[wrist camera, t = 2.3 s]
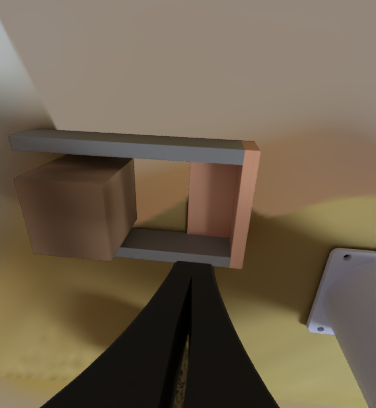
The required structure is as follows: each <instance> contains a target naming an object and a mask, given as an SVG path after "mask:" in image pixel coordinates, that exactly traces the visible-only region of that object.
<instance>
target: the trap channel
mask: <svg viewBox="0 0 376 408" xmlns="http://www.w3.org/2000/svg"><path fill="white" fill-rule="evenodd" d="M8 137H9V141H10V145H11V149H12V150H17V151H32V152H48V153H63V154H79V155H94V156H110V157H125V158H141V159H156V160H172V161H187V162H188V161H189V162H190V180H189V204H188V229H187V233H185V232H173V231H162V230H151V229H139V228H131V229H130V231H129V233H128V234H127V236H126V238H125V239H124V241H123V243H122V244H121V246H120V247H119V249H118V251H117V252H116V254H115V256H114V257H123V258H134V259H144V260H154V261H165V262H177V261H187V262H198V263H208V264H211V265H212V266H216V267H226V268H237V269H242V266H243V260H244V253H245V247H246V241H247V235H248V228H249V222H250V216H251V209H252V203H253V196H254V191H255V184H256V178H257V172H258V165H259V158H260V153H261V150H260V149H259V148H258V146H257V145H256V143H255V141H241V140H223V139H205V138H187V137H170V136H153V135H134V134H117V133H99V132H81V131H65V130H47V129H35V130H31V131H26V132H22V133H18V134H14V135H10V136H8Z"/></svg>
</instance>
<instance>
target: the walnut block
mask: <svg viewBox="0 0 376 408" xmlns="http://www.w3.org/2000/svg"><path fill="white" fill-rule="evenodd" d="M14 182H15V185H16V189H17V193H18V197H19V200H20V204H21V208H22V211H23V215H24V219H25V222H26V226H27V230H28V234H29V237H30V241H31V245H32V248H33V252H34V254H41V255H51V256H61V257H71V258H81V259H91V260H101V261H112V259H113V257H114V256H115V254H116V252H117V251H118V249H119V247H120V246H121V244H122V243H123V241H124V239H125V238H126V236H127V234H128V233H129V231H130V229H131V228H132V226H133V225H134V223H135V221H136V220H137V209H136V192H135V174H134V159H133V158H123V157H107V156H92V155H76V154H67V155H65V156H62V157H60V158H58V159H56V160H54V161H51V162H49V163H47V164H45V165H42V166H40V167H38V168H36V169H34V170H31V171H29V172H27V173H25V174H23V175H20V176H18V177H16V178H14Z"/></svg>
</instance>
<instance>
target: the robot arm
mask: <svg viewBox="0 0 376 408" xmlns="http://www.w3.org/2000/svg"><path fill="white" fill-rule="evenodd" d="M348 254H349V255H348ZM345 255H348V256H347V257H344V256H345ZM306 326H307V329H308V331H310V332H314V333H322V334H331V335H335V336H336V339H337V341H338V343H339V345H340V347H341V349H342V351H343V353H344V356H345V358H346V360H347V362H348V364H349V366H350V368H351V371H352V373H353V375H354V377H355V379H356V381H357V383H358V385H359V388H360V390H361V392H362V394H363V396H364V398H365V400H366V402H367V405H368V407H369V408H376V251H369V250H357V249H346V248H336V249H333V250H332V251H331V252H330V255H329V258H328V261H327V264H326V267H325V270H324V273H323V276H322V279H321V282H320V285H319V288H318V291H317V294H316V297H315V300H314V303H313V306H312V309H311V312H310V315H309V318H308V321H307V324H306ZM188 332H189V347H188V370H187V379H186V388H185V396H184V405H183V408H280V407H279V406H278V404H277V403H276V401H275V400H274V398H273V397H272V395H271V394H270V392H269V391H268V389H267V387H266V386H265V384H264V382H263V381H262V379H261V377H260V376H259V374H258V372H257V371H256V369H255V367H254V365H253V364H252V362H251V360H250V358H249V356H248V354H247V353H246V351H245V349H244V347H243V345H242V343H241V341H240V339H239V337H238V335H237V333H236V331H235V329H234V326H233V324H232V322H231V320H230V317H229V315H228V313H227V310H226V308H225V305H224V303H223V300H222V297H221V295H220V292H219V289H218V285H217V282H216V278H215V274H214V267H213V266H212V265H211V264H208V263H198V262H187V261H177V262H175V263H174V265H173V267H172V269H171V271H170V272H169V274H168V276H167V277H166V279H165V280H164V282H163V283H162V285H161V286H160V288H159V289H158V290H157V292H156V293H155V295H154V296H153V297H152V299H151V300H150V301H149V303H148V304H147V305H146V306H145V308H144V309H143V310H142V311H141V312H140V314H139V315H138V316H137V317H136V318H135V320H134V321H133V322H132V323H131V324H130V325H129V326H128V328H127V329H126V330H125V331H124V332H123V333H122V334H121V335H120V336H119V337H118V338H117V339H116V340H115V341H114V342H113V343H112V344H111V345H110V347H109V348H107V349H106V350H105V351H104V352H103V353H102V354H101V355H100V356H99V357H98V358H97V359H96V360H95V361H94V362H93V363H92V364H91V365H90V366H89V367H87V368H86V369H85V370H84V371H83V372H82V373H81V374H80V375H79V376H77V377H76V378H75V379H74V380H73V381H72V382H70V383H69V384H68V385H67V386H66V387H64V388H63V389H62V390H61V391H60V392H58V393H57V394H56V395H55V396H54V397H52V398H51V399H50V400H49V401H47V402H46V403H45V404H44V405H43V406H41V407H40V408H174V402H175V396H176V391H177V386H178V381H179V377H180V372H181V367H182V362H183V357H184V352H185V347H186V342H187V337H188Z"/></svg>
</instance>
